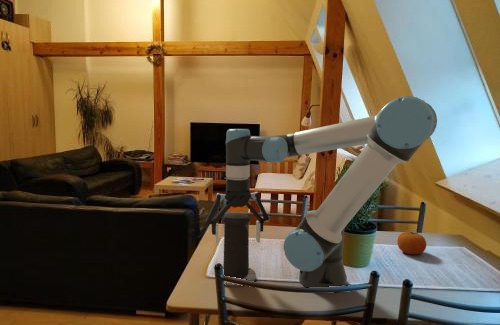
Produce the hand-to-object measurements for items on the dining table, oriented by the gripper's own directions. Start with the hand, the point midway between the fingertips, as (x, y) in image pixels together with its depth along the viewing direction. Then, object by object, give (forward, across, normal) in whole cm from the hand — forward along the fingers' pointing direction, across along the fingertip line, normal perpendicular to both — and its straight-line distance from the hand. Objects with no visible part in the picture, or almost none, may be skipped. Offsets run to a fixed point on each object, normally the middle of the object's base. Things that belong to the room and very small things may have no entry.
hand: (237, 242), depth 113 cm
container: (+11, 0, 0) cm, 11 cm away
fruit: (+13, -72, -10) cm, 74 cm away
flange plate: (+12, 0, 0) cm, 12 cm away
